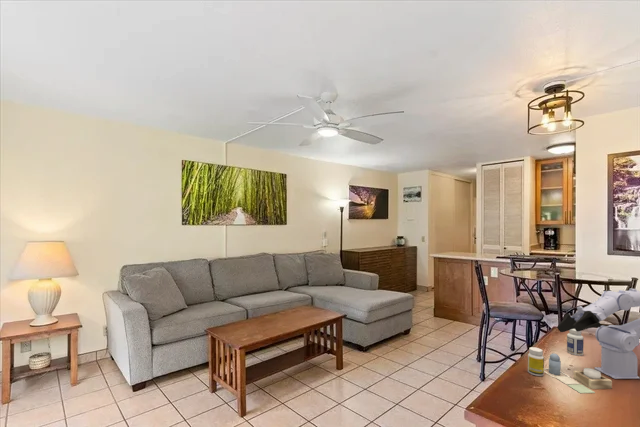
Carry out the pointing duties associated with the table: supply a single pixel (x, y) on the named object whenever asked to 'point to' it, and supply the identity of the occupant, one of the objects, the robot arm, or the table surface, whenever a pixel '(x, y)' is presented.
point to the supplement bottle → (535, 361)
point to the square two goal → (581, 389)
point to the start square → (555, 376)
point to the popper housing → (592, 381)
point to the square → (567, 380)
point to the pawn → (554, 364)
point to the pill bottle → (575, 342)
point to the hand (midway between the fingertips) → (567, 329)
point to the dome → (592, 373)
